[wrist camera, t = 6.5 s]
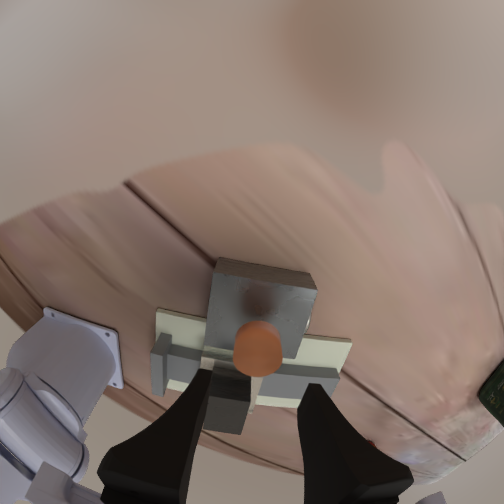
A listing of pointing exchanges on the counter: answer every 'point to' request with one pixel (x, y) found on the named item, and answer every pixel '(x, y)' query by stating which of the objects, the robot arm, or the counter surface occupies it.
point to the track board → (304, 355)
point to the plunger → (257, 349)
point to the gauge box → (258, 303)
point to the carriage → (228, 392)
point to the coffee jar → (494, 394)
